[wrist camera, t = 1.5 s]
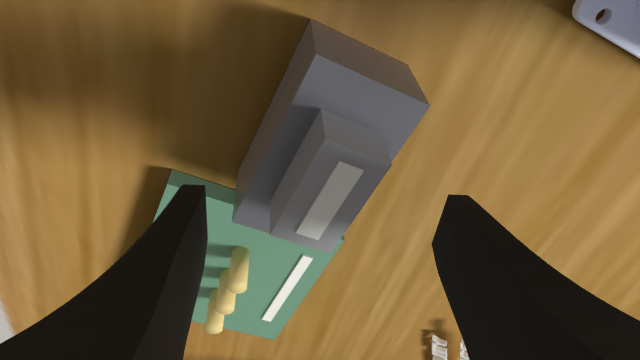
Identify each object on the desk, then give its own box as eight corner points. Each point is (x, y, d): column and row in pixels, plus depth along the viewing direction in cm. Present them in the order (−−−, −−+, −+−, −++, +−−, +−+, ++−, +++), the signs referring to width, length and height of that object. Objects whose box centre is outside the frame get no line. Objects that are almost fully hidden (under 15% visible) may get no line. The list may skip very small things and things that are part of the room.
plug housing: (407, 65, 17) (447, 137, 13) (323, 200, 21) (333, 290, 17) (310, 18, 16) (320, 82, 12) (238, 170, 19) (226, 260, 15)
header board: (342, 225, 22) (349, 274, 19) (274, 324, 26) (273, 374, 23) (172, 169, 19) (156, 217, 17) (127, 288, 23) (109, 340, 21)
